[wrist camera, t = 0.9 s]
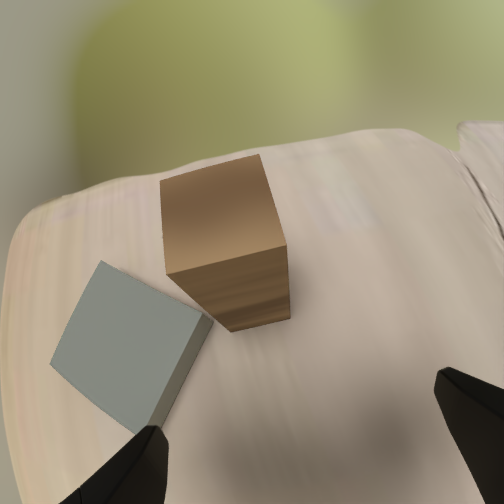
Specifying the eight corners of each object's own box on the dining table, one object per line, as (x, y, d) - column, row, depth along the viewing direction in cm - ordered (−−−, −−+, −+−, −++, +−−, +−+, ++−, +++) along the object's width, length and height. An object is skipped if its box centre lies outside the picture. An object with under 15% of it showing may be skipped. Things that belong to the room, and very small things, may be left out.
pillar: (290, 318, 22) (286, 244, 11) (230, 332, 22) (166, 274, 11) (276, 263, 24) (258, 154, 13) (220, 277, 24) (159, 180, 13)
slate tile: (158, 433, 20) (140, 438, 17) (71, 368, 22) (49, 364, 20) (213, 321, 23) (202, 312, 20) (118, 273, 26) (100, 260, 23)
